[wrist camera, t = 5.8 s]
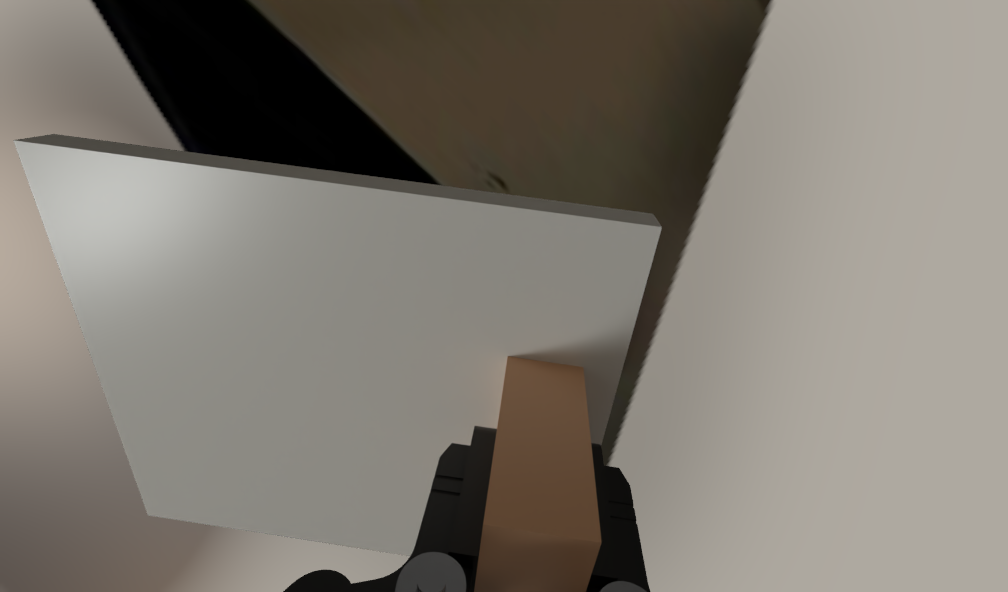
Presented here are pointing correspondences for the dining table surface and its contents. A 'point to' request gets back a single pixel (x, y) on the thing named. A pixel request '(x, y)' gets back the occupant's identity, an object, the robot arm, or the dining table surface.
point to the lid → (347, 344)
